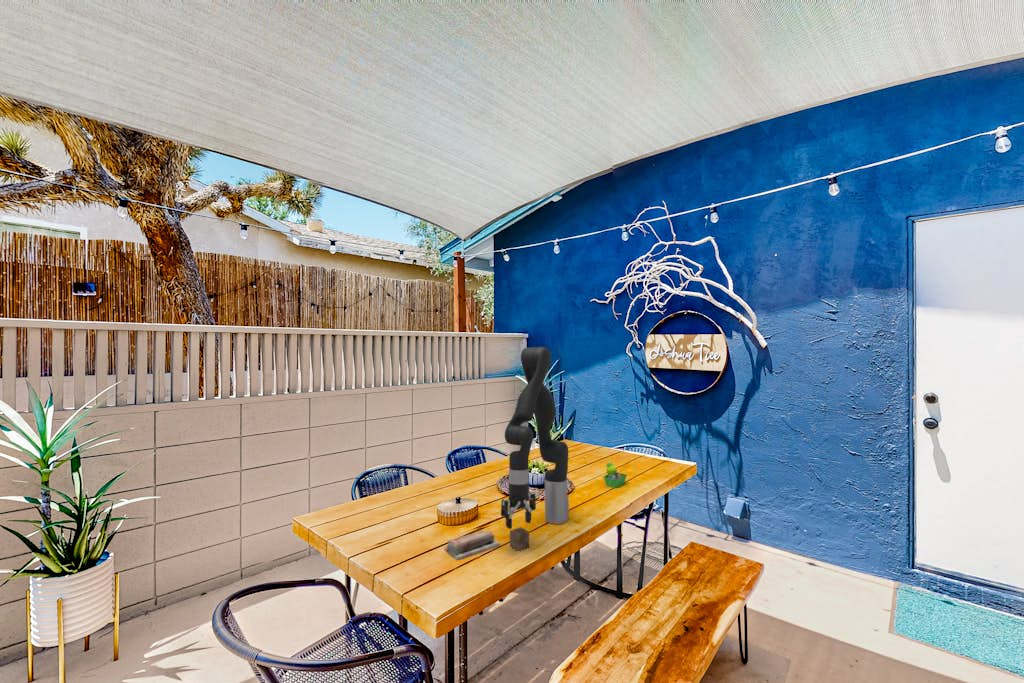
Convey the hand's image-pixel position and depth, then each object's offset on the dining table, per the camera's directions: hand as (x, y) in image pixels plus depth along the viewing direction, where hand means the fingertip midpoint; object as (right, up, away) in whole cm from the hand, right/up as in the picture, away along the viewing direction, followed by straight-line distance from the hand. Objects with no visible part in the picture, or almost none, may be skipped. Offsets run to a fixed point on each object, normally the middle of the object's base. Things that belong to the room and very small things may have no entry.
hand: (518, 525), depth 157 cm
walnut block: (0, -8, 0) cm, 8 cm away
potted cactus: (+52, -9, +69) cm, 87 cm away
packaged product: (-17, -9, 0) cm, 19 cm away
